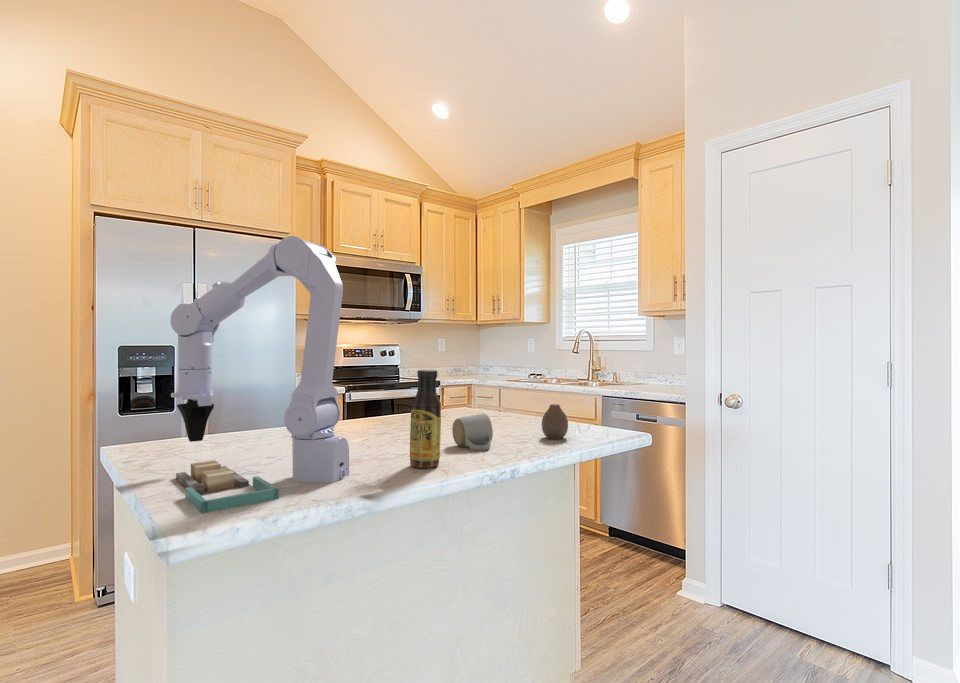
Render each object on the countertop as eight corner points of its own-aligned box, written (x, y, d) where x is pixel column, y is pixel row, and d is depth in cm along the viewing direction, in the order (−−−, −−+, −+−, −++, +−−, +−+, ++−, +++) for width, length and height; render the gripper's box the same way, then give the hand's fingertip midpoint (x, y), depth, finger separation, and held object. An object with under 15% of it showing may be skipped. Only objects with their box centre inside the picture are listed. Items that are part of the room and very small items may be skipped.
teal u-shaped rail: (278, 507, 84) (278, 488, 84) (201, 523, 77) (201, 502, 77) (257, 493, 92) (257, 476, 92) (185, 506, 85) (185, 487, 85)
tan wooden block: (234, 487, 91) (234, 472, 91) (208, 491, 88) (208, 476, 88) (227, 482, 94) (227, 468, 94) (202, 486, 91) (201, 471, 91)
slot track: (251, 494, 92) (251, 480, 92) (192, 505, 86) (192, 490, 86) (227, 478, 102) (227, 465, 102) (173, 486, 97) (173, 473, 97)
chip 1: (220, 478, 97) (220, 464, 97) (196, 482, 94) (196, 467, 94) (214, 473, 100) (214, 460, 100) (190, 477, 97) (190, 463, 97)
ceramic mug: (450, 444, 134) (450, 413, 134) (480, 441, 138) (480, 411, 137) (468, 453, 124) (468, 420, 124) (499, 450, 128) (499, 417, 128)
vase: (537, 436, 145) (537, 403, 144) (560, 435, 147) (560, 402, 146) (548, 441, 138) (548, 406, 138) (572, 439, 140) (572, 405, 140)
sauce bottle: (403, 467, 110) (403, 370, 110) (420, 461, 116) (420, 368, 116) (430, 471, 107) (430, 371, 107) (447, 464, 113) (446, 369, 113)
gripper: (163, 367, 105) (164, 437, 105) (180, 371, 94) (180, 449, 94) (203, 366, 110) (203, 433, 110) (223, 370, 99) (223, 444, 99)
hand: (195, 440), depth 102 cm, fingers closed
